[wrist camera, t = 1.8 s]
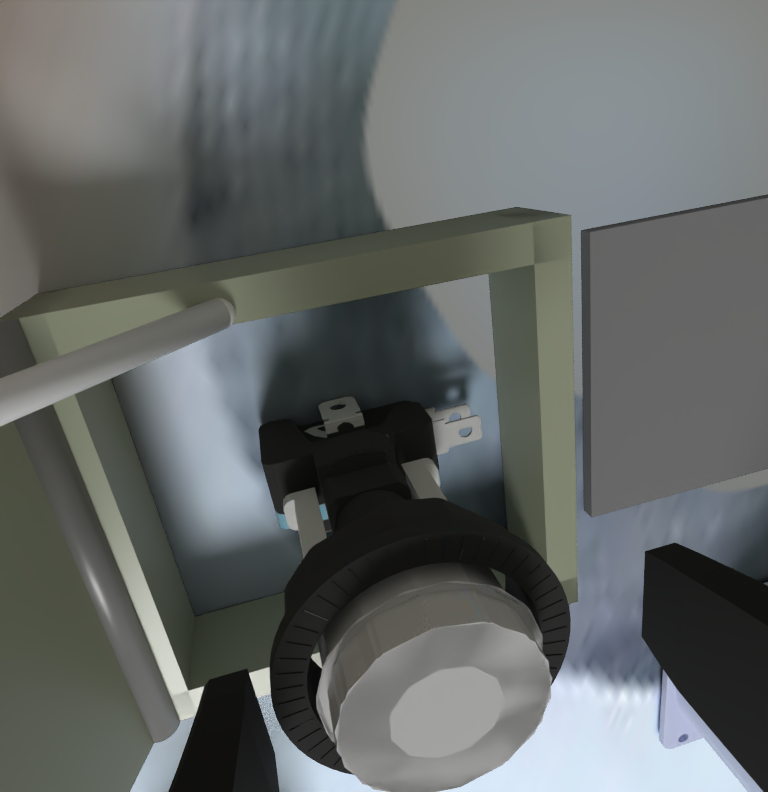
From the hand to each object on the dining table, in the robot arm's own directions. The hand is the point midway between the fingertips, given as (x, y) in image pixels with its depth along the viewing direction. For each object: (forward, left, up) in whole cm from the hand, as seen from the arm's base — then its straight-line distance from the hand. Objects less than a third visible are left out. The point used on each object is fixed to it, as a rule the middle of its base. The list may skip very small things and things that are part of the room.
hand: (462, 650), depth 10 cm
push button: (0, 0, -9) cm, 9 cm away
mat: (-12, 0, -9) cm, 15 cm away
